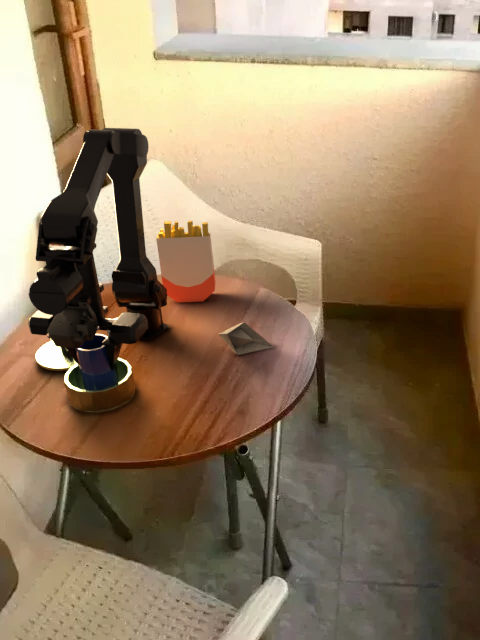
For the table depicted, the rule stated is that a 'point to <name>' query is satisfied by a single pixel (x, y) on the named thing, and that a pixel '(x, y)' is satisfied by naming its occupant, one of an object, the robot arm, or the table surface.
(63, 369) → the lid
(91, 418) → the table surface
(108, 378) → the cup
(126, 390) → the pot
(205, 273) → the french fries container
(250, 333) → the paper boat
